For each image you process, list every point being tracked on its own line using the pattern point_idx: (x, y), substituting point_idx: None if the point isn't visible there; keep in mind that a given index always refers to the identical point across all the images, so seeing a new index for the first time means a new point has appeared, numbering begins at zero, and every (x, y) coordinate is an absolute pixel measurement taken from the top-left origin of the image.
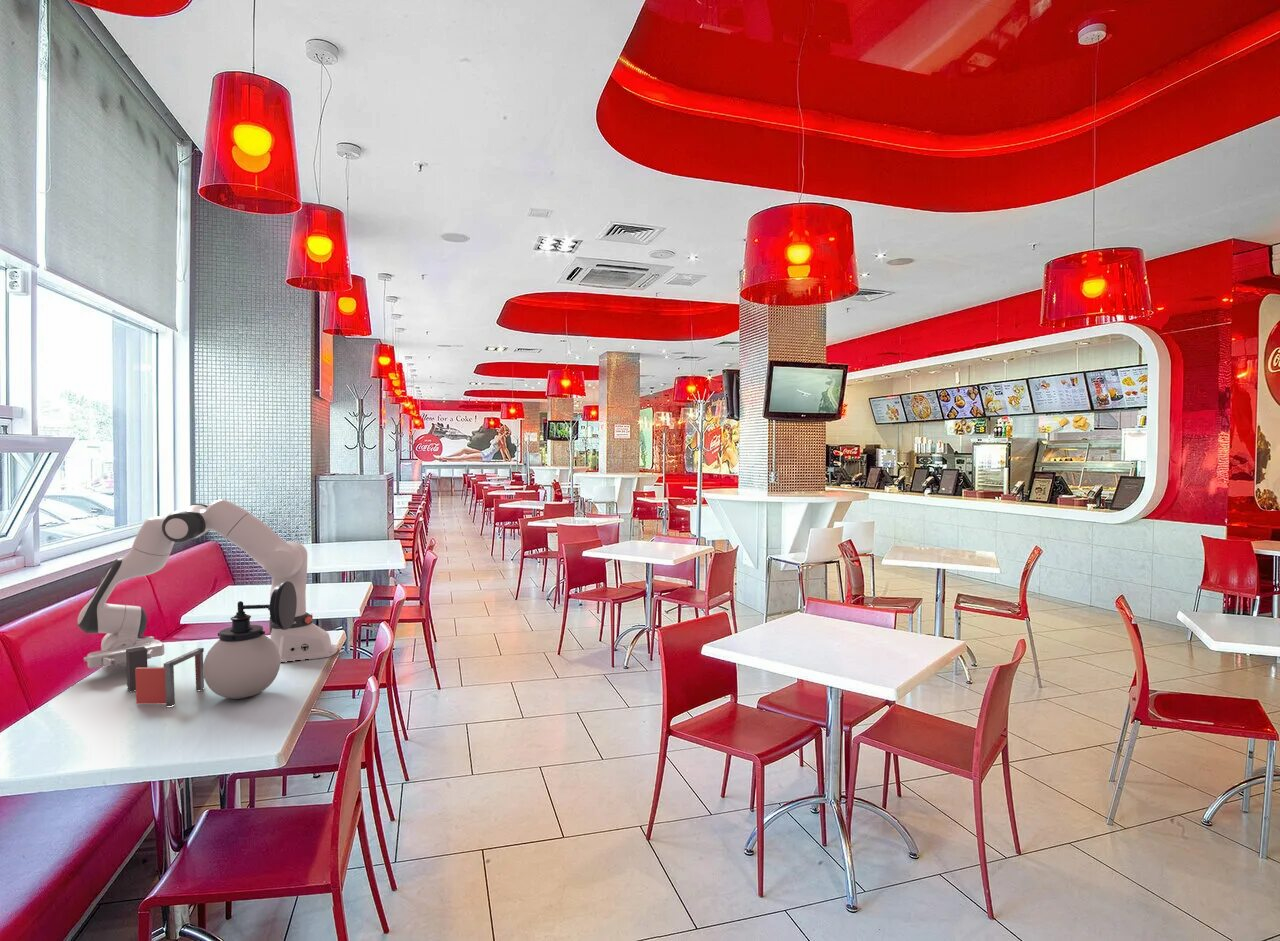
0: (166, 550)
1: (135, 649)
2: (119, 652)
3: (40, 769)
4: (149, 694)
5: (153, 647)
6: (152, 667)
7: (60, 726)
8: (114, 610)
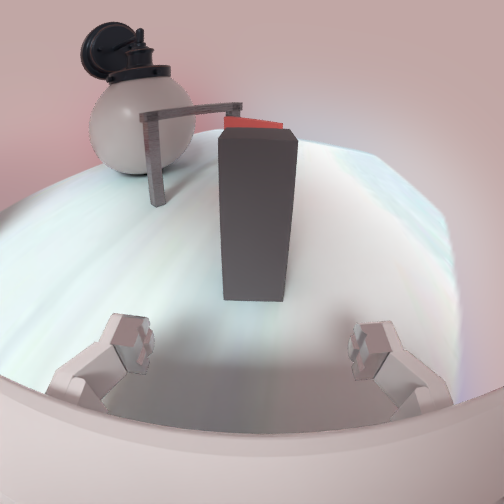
0: None
1: (261, 132)
2: (335, 431)
3: (361, 155)
4: None
5: (28, 388)
6: (252, 119)
7: (383, 198)
8: None
